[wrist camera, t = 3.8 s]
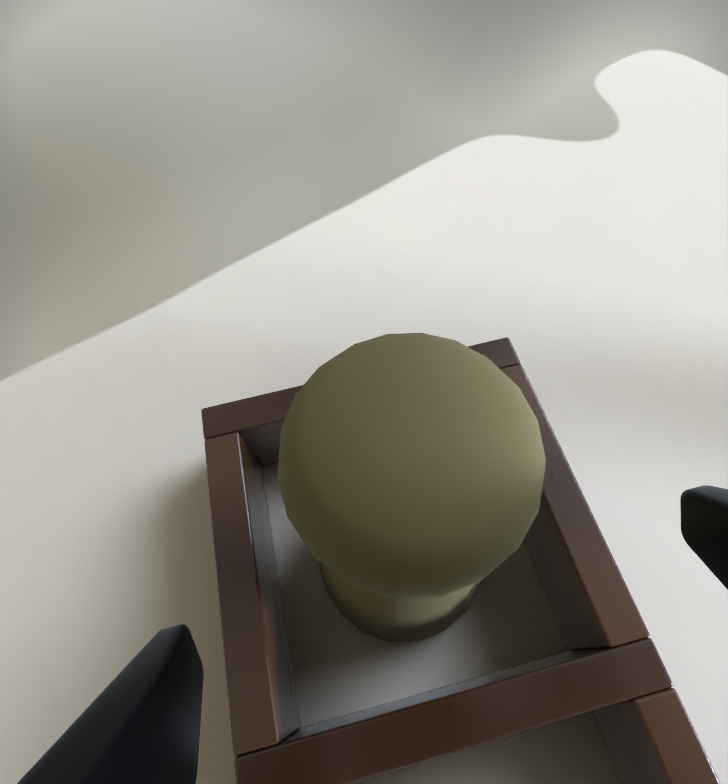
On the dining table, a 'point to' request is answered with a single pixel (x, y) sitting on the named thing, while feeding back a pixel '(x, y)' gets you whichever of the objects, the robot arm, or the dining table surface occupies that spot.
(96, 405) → the dining table surface
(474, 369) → the olive pawn
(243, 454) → the frame
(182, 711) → the robot arm
